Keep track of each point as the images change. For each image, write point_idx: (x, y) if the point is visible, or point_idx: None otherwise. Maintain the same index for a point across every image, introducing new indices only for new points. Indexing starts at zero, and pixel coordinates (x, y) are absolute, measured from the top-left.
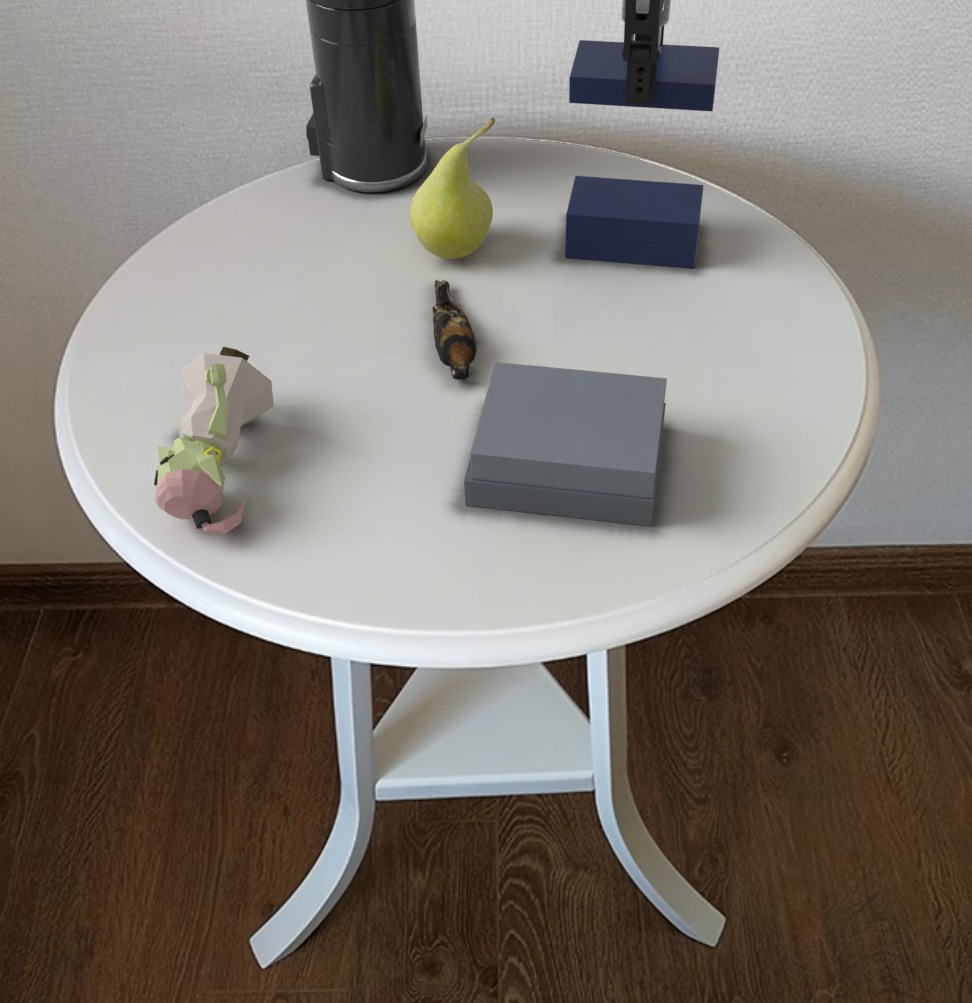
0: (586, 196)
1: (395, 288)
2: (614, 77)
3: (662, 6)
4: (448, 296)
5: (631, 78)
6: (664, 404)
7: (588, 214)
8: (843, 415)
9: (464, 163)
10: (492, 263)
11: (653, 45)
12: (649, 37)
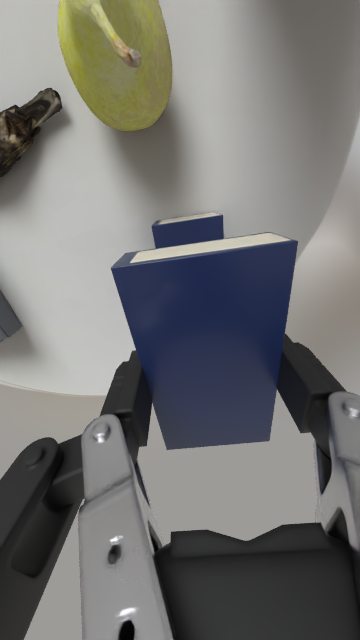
0: (187, 237)
1: (34, 26)
2: (140, 349)
3: (316, 454)
4: (41, 118)
5: (109, 392)
6: (7, 336)
7: (158, 247)
8: (83, 390)
9: (91, 38)
10: (125, 148)
11: (27, 531)
12: (283, 380)
